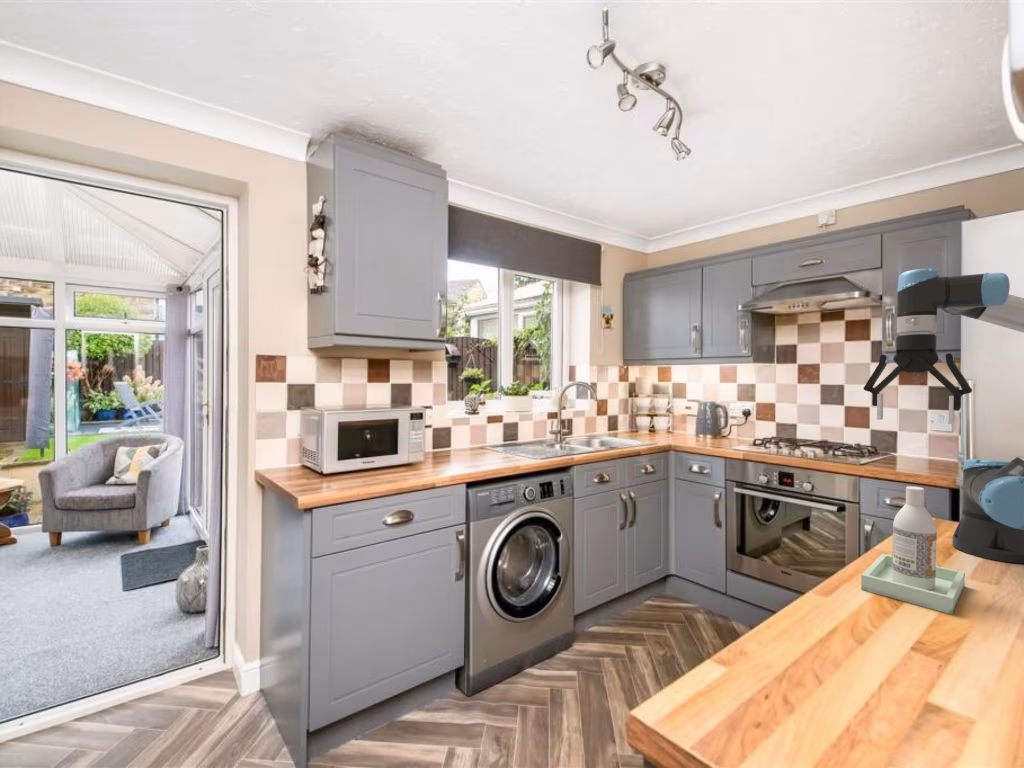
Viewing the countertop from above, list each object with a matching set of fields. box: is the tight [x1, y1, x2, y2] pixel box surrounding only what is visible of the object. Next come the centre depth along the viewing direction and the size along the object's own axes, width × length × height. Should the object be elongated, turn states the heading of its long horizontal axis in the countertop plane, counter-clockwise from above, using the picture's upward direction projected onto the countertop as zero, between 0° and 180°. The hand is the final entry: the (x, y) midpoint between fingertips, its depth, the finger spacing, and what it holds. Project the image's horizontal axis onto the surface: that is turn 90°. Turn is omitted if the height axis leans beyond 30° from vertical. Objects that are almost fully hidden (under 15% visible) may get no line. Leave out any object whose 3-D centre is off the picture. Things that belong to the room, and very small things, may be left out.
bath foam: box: [891, 485, 938, 590], centre depth 101 cm, size 7×7×20 cm
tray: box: [860, 553, 966, 616], centre depth 101 cm, size 18×14×3 cm
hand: (914, 421), depth 119 cm, fingers open, 13 cm apart
